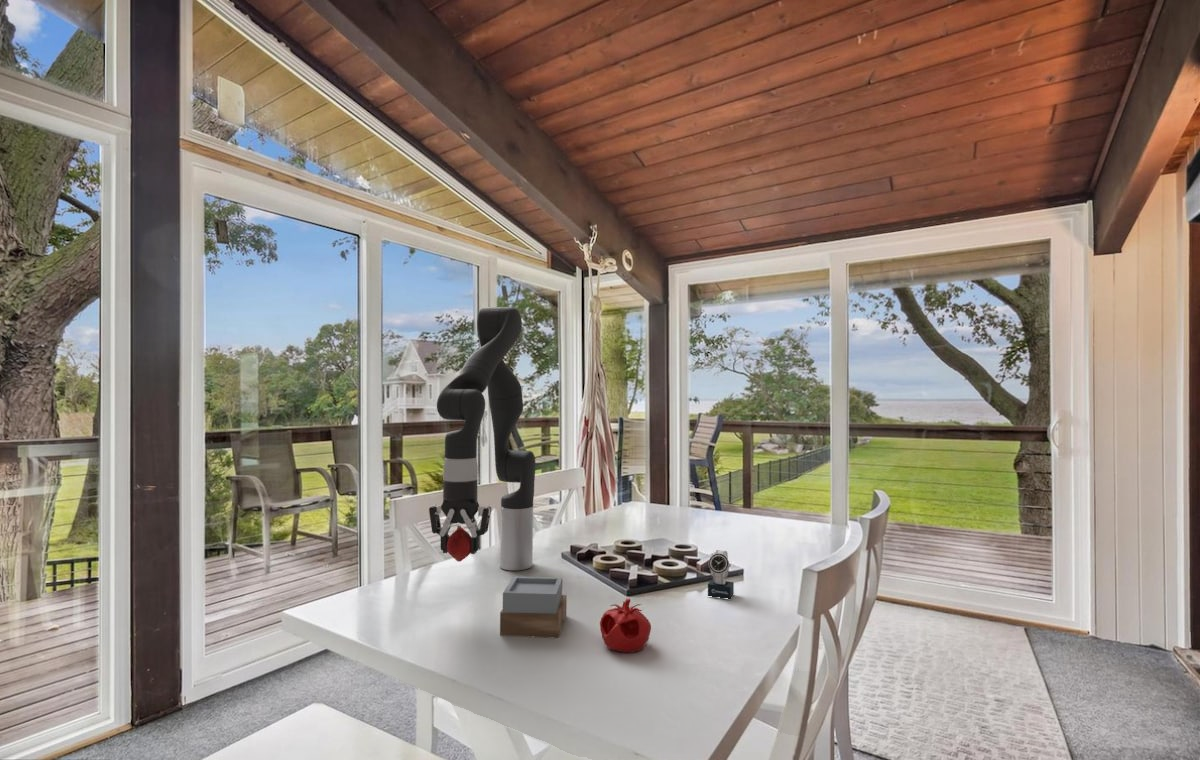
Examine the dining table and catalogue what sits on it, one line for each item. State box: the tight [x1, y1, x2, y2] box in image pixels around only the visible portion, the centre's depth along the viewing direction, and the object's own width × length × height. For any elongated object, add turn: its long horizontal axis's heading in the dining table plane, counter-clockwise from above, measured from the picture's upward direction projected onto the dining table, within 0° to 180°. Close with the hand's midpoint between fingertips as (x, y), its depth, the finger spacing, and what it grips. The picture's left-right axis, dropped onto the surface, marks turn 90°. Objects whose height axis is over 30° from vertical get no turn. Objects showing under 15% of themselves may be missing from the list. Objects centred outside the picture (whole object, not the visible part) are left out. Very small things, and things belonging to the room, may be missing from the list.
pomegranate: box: [599, 598, 652, 653], centre depth 116 cm, size 10×10×9 cm
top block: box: [502, 576, 563, 614], centre depth 126 cm, size 11×11×4 cm
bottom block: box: [499, 594, 568, 639], centre depth 126 cm, size 12×12×5 cm
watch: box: [707, 549, 735, 600], centre depth 146 cm, size 6×8×11 cm
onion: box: [447, 525, 472, 563], centre depth 132 cm, size 6×6×8 cm
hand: (459, 552), depth 132 cm, fingers closed on onion, 6 cm apart
